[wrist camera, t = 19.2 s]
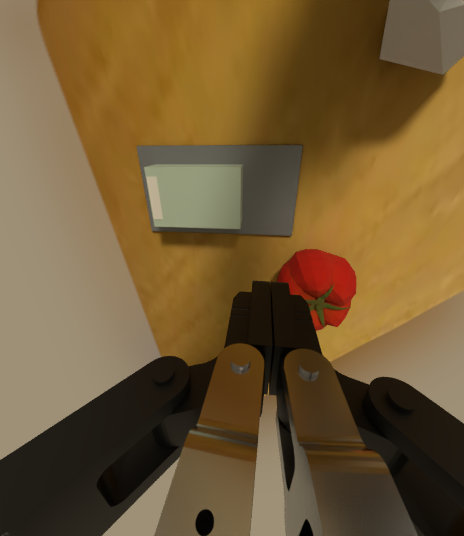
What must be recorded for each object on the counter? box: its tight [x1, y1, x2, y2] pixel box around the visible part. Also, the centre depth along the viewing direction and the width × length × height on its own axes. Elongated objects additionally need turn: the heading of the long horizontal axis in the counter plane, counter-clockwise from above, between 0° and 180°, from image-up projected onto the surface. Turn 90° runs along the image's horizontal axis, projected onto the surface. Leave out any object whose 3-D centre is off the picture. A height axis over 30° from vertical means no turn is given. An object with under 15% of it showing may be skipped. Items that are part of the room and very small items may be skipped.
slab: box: [144, 164, 243, 229], centre depth 29 cm, size 7×4×11 cm
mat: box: [137, 145, 303, 236], centre depth 31 cm, size 11×20×1 cm, turn 90°
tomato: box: [277, 249, 356, 330], centre depth 31 cm, size 11×11×9 cm
